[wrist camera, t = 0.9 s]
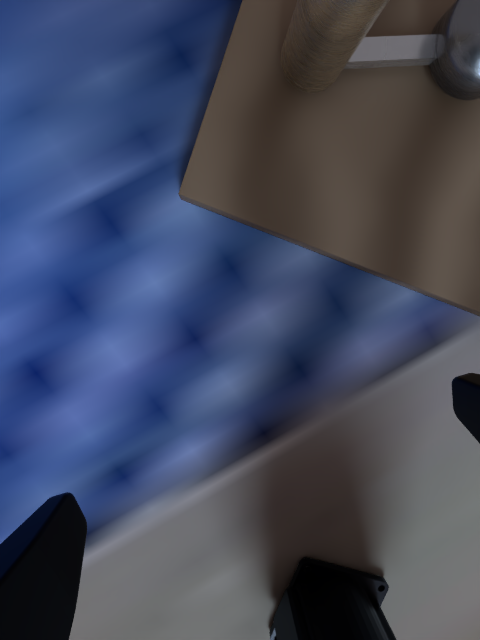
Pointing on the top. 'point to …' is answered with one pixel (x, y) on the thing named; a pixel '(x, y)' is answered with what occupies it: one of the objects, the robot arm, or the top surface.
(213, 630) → the top surface
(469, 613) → the top surface
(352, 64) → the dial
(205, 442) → the top surface
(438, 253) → the brown flat board
